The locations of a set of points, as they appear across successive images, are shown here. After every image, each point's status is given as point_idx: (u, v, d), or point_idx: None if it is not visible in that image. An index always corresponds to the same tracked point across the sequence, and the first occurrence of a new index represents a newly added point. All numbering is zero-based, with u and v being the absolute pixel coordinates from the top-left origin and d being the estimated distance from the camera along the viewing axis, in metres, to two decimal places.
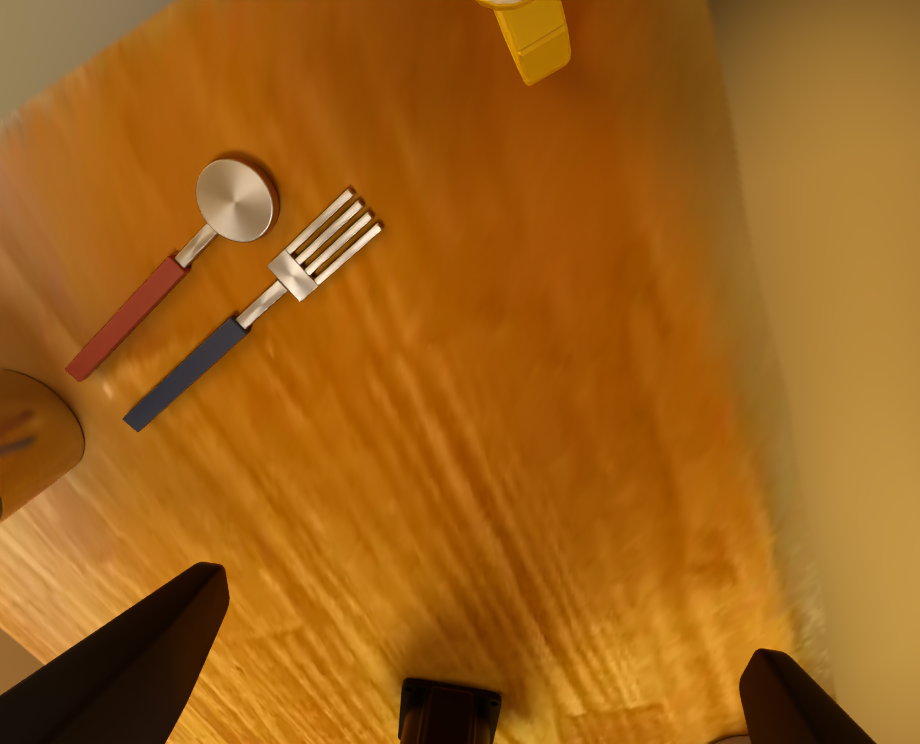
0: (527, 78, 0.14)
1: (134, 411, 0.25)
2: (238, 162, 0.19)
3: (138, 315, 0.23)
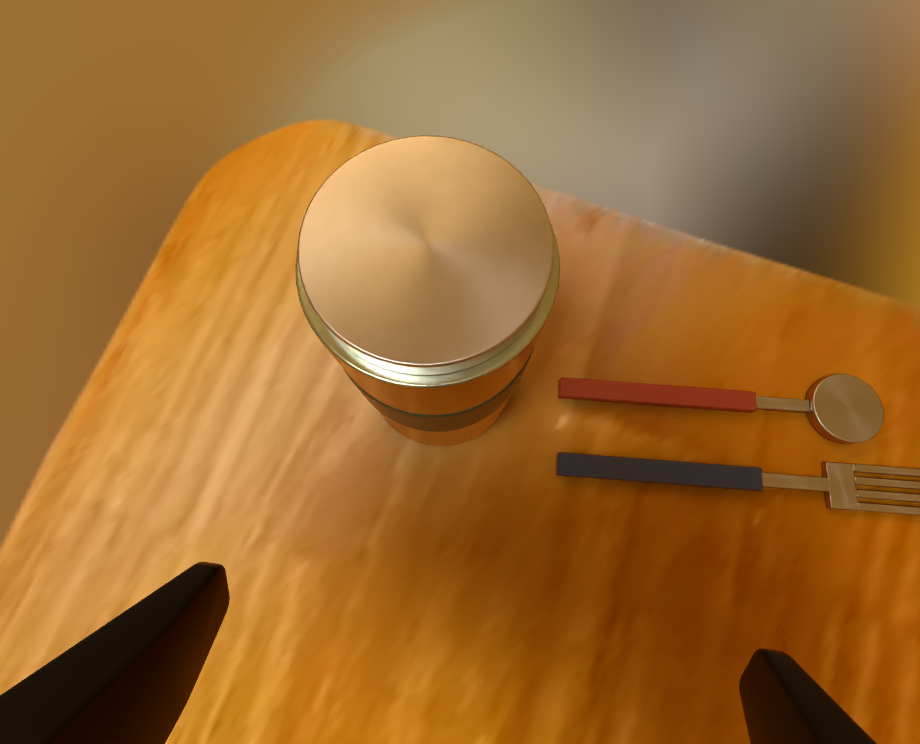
0: None
1: (580, 457, 0.22)
2: (875, 392, 0.23)
3: (682, 402, 0.23)
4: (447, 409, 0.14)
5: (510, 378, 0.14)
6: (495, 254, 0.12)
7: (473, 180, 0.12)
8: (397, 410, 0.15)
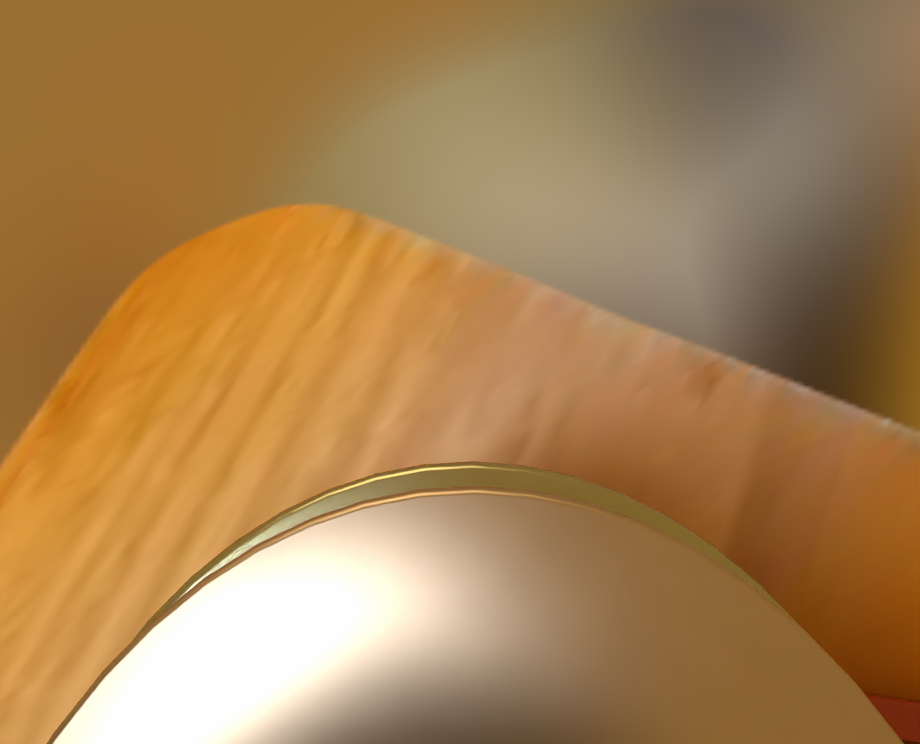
0: None
1: None
2: None
3: None
4: None
5: None
6: None
7: (673, 716, 0.03)
8: None
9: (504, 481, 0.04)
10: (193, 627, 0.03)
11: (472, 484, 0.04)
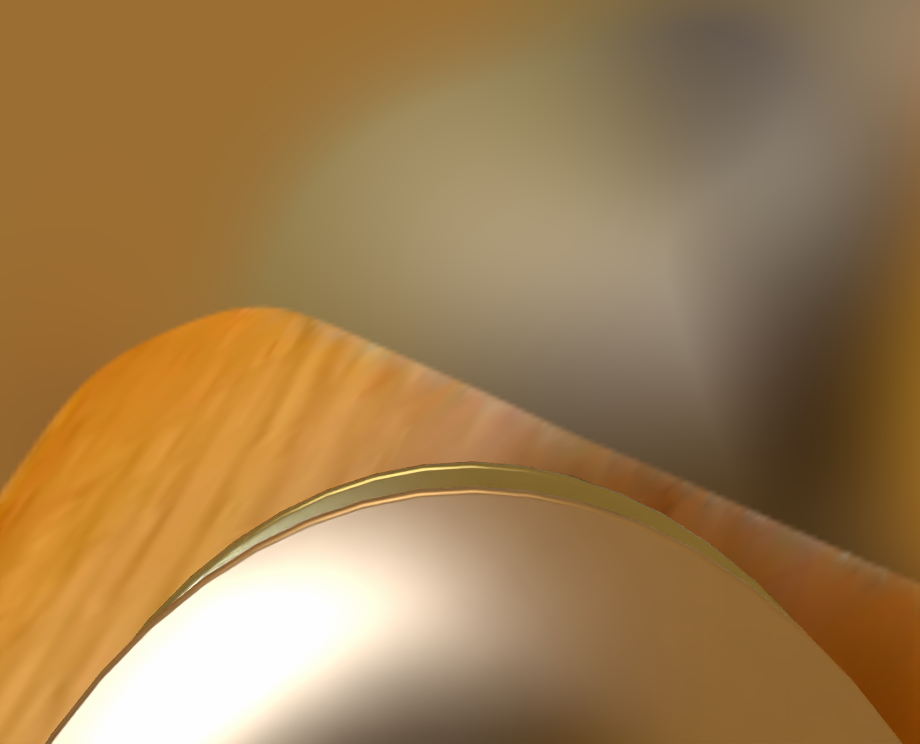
0: None
1: None
2: None
3: None
4: None
5: None
6: None
7: (673, 717, 0.03)
8: None
9: (503, 481, 0.04)
10: (191, 628, 0.03)
11: (471, 484, 0.04)
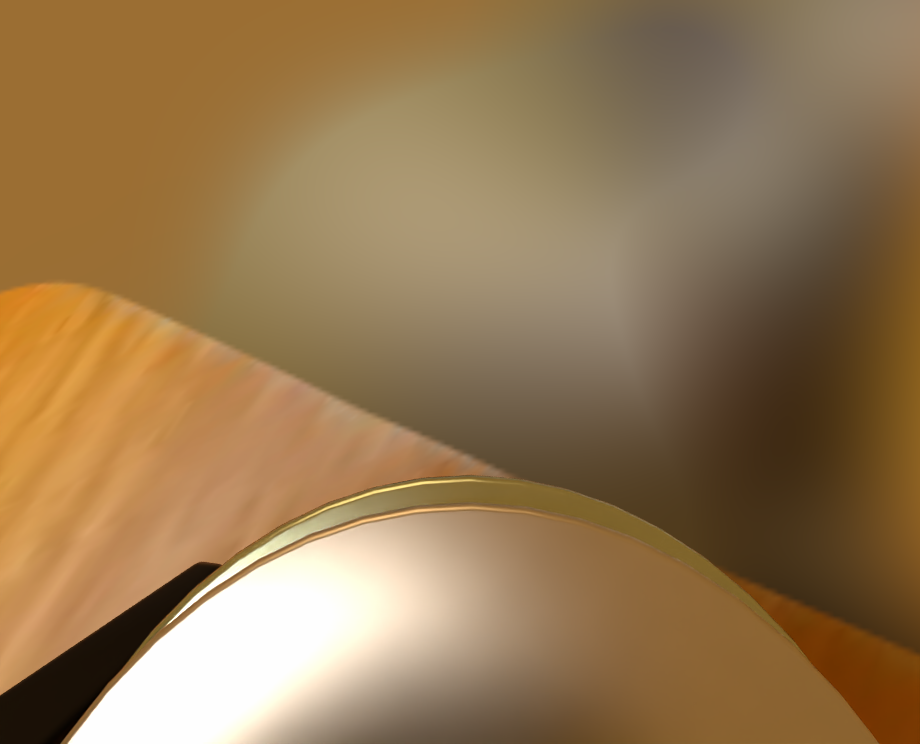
0: None
1: None
2: None
3: None
4: None
5: None
6: None
7: (665, 730, 0.03)
8: None
9: (500, 495, 0.04)
10: (195, 642, 0.03)
11: (469, 498, 0.04)
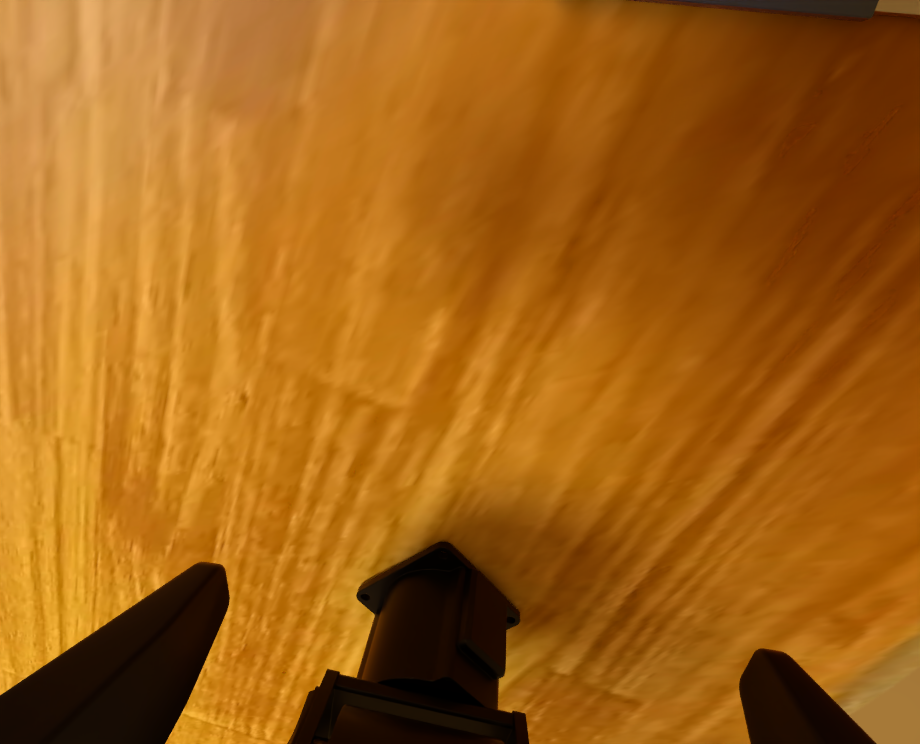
0: None
1: None
2: None
3: None
4: None
5: None
6: None
7: None
8: None
9: None
10: None
11: None
